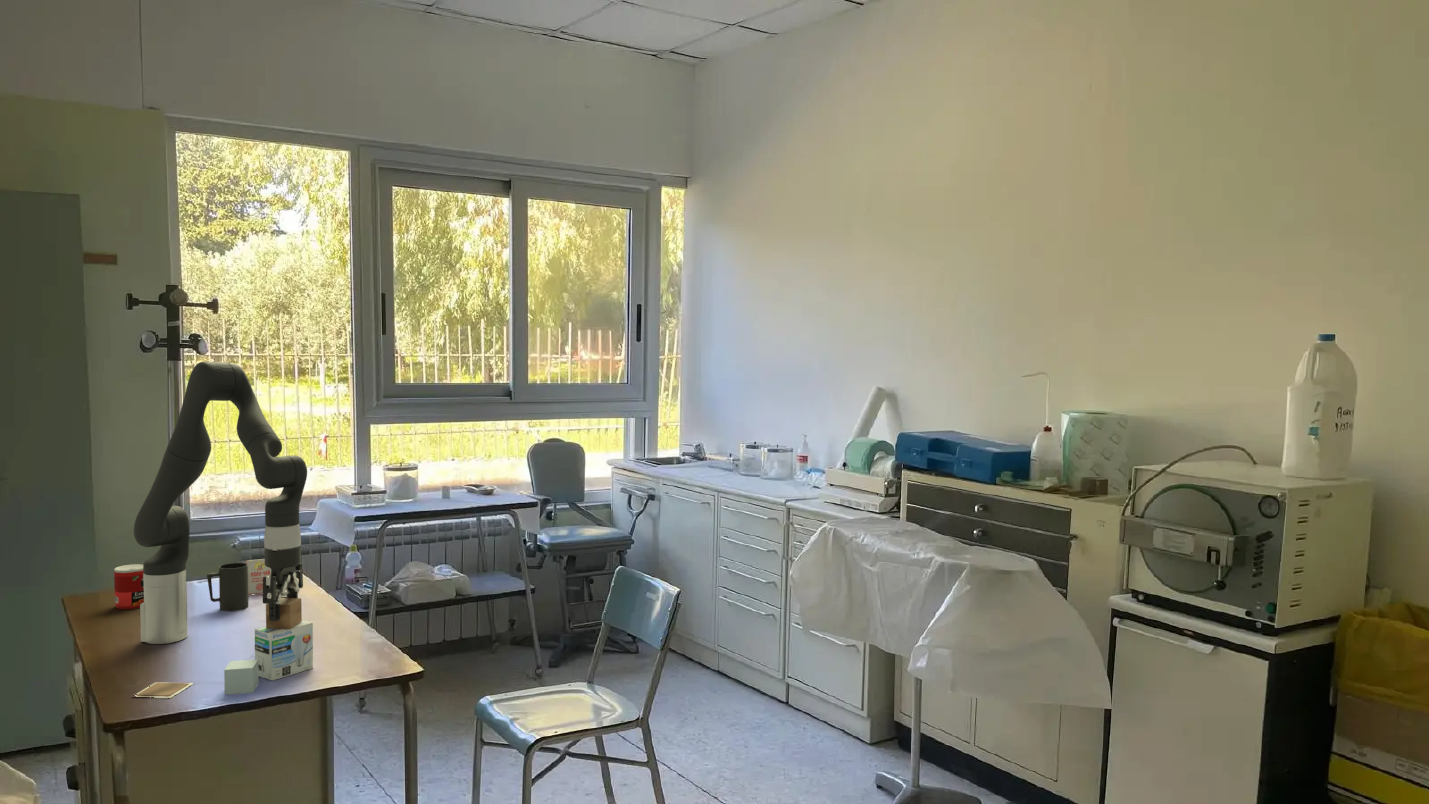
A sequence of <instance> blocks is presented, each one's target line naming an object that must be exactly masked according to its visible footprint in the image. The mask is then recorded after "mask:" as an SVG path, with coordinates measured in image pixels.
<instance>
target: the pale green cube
mask: <svg viewBox="0 0 1429 804" xmlns="http://www.w3.org/2000/svg"><path fill="white" fill-rule="evenodd" d="M223 673H224V674H223V675H224V676H223V677H224V679H223V680H224V695H225V694H228V695H237V694H238V695H239V694H253V693H254V692H255V690H256V689H257V687H258V686H259V684H260V683H259V682H260V681H259V677H260V676H259V670H258V659H256V660H255V659H244V660H243V659H242V660H230V662H228V664H227V665H226V667H225V668H224V670H223ZM258 683H259V684H258ZM257 685H258V686H257ZM256 686H257V687H256ZM255 688H256V689H255Z"/></svg>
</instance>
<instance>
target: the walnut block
mask: <svg viewBox="0 0 1429 804" xmlns="http://www.w3.org/2000/svg"><path fill="white" fill-rule="evenodd" d="M279 604H280V620H278V621H270V620H269V604H265V626H266V629H291V628H293V627H294V626H296V625H297V624H299V623H301V622H302V620H303V619H302V618H303V617H302V616H303V615H302V611H303V610H302V598H300V597H298V598H281V600H280V603H279Z"/></svg>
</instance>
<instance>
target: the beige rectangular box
mask: <svg viewBox="0 0 1429 804" xmlns="http://www.w3.org/2000/svg"><path fill="white" fill-rule="evenodd" d="M244 563H246V564H248V596H253V595H252V594H256V595H263V577H264V576H270V575H271V568H269V567H266V566H265V558H259V559H250V560H245V562H244Z"/></svg>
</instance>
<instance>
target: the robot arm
mask: <svg viewBox="0 0 1429 804" xmlns="http://www.w3.org/2000/svg"><path fill="white" fill-rule="evenodd" d="M188 377H189V378H188V382H187V385H186V389H185V393H184V396H183V397H184V398H183V399H182V400H183V401H182V403H181V408H180V411H179V415H178V418H177V421H176V423H175V426H174V429H173V432H172V434H171V437H170V439H169V441H168V443H167V446H166V448H165V451H164V454H163V457H162V460H161V464H160V466H159V469H158V471H157V474H156V477H155V479H154V481H153V484H152V486H151V488H150V490H149V492H148V493H147V496H146V498H145V500H144V501H143V503H142V505H141V507H140V509H139V511H138V513H137V516H136V518H135V520H134V524H133V535H134V539H135V541H136V542H137V544H138V545H139V546H142V547H144V548H151V547H152V548H153V547H159V546H160V547H159V549H158V550H157V552H156V553H155V554H153V555H152V556H151V557H149V558H147V559H146V560H145V561H144V562H143V564H142V565H143V578H144V603H142V604H141V605H140V609H139V612H140V615H139V616H140V642H143V643H146V644H152V645H163V644H164V645H165V644H171V643H175V642H179V641H182V640H184V639H186V638H187V637H188V602H187V600H188V599H187V598H188V596H187V595H188V594H187V593H188V591H187V561H188V559H189V557H190V553H189V552H190V533H191V532H190V530H191V527H190V519H189V516H188V514H187V512H186V510H185V509H184V508H183V507H181V506H178V505H174V504H175V502H176V501H177V500H178V498H179V497H180V496H181V495H183V494H184V492H186V491H187V490H188V489H189V488H190V487H191V486H192V485H193V484H194V483H196V481H197V480H198V479H199V478H200V476H201V475H202V473H203V472H204V470H205V467H206V465H207V463H208V461H209V457H210V455H211V452H212V442H211V438H210V435H209V433H208V430H207V428H206V425H205V421H204V417H205V412H206V408H207V407H208V404H209V403H210V401H216V402H217V401H218V402H220V401H221V402H224V401H225V402H229V401H230V402H231V403H232V404H233V405H234V406H235V407H236V409H237V410H238V417H237V421H236V432H237V436H238V439H239V441H240V442H241V444H242V445H243V447H244V448H245V450H246V451H247V453H248V454H249V457H250V459H251V464H252V467H253V470H254V471H253V472H254V476H255V480H256V482H257V483H258V484H259V485H260V486H261V487H262V488H264V489H267V490H273V489H274V490H275V489H281V488H282V491H281V493H280V494H279V495H278V496H276V497H273V498H270V499H269V500H267V501H266V502H265V505H264V519H265V520H264V523H265V524H264V525H265V526H264V536H263V537H264V538H263V540H264V541H263V542H264V544H263V546H264V548H263V549H264V559H265V566H266V567H269V568H271V575H270V576H264V577H263V594H262V604H263V605H266V604H269V620H270V621H278V620H280V604H279V603H280V600H281V597H282V595H284V594H285V592H287V593H288V594H287V598H299V593H300V589H303V587H304V578H303V563H302V539H301V538H302V535H301V533H302V532H301V527H300V506H301V505H300V503H301V501H302V498H303V497H302V496H303V493H304V489H305V485H306V482H307V478H308V467H307V464H306V462H305V460H304V459H303V458H302V457H301V456H299V455H294V454H293V455H284V456H283V455H282V456H279V455H280V454H281V452H282V449H283V445H282V441H281V440H280V438H279V437H278V435H277V434H276V432H275V431H274V429H273V428H272V427H271V425H270V423H269V422H268V420H267V419H266V416H265V415H264V413H263V411H262V409H261V407H260V404H259V402H258V400H257V397H256V394H255V392H254V390H253V387H252V384H251V383H250V380H249V378H248V376H247V374H246V372H245V370H244V369H243V368H242V367H241V366H240V365H239V364H237V363H234V362H227V361H225V362H221V361H209V360H208V361H205V360H204V361H200V362H198V363H197V364H195V366H194V367H193V368H192V370H191V373H190V375H189V376H188ZM276 595H277V598H276Z"/></svg>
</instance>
